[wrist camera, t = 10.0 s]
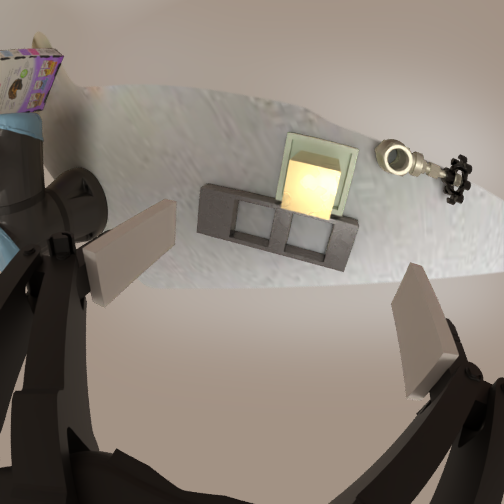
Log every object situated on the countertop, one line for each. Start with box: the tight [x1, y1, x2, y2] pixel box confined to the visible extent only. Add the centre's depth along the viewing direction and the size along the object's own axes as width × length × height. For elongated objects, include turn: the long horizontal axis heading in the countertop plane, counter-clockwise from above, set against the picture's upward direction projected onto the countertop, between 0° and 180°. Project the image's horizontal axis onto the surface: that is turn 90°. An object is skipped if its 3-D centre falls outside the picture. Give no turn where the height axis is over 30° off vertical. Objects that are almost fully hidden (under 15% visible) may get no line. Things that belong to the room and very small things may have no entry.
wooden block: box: [281, 150, 341, 220], centre depth 31 cm, size 5×5×10 cm
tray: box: [275, 132, 359, 217], centre depth 35 cm, size 9×9×2 cm
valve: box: [375, 139, 472, 205], centre depth 28 cm, size 7×7×12 cm
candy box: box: [0, 48, 64, 114], centre depth 32 cm, size 14×6×16 cm, turn 140°
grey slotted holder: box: [197, 184, 359, 272], centre depth 39 cm, size 22×7×2 cm, turn 81°
